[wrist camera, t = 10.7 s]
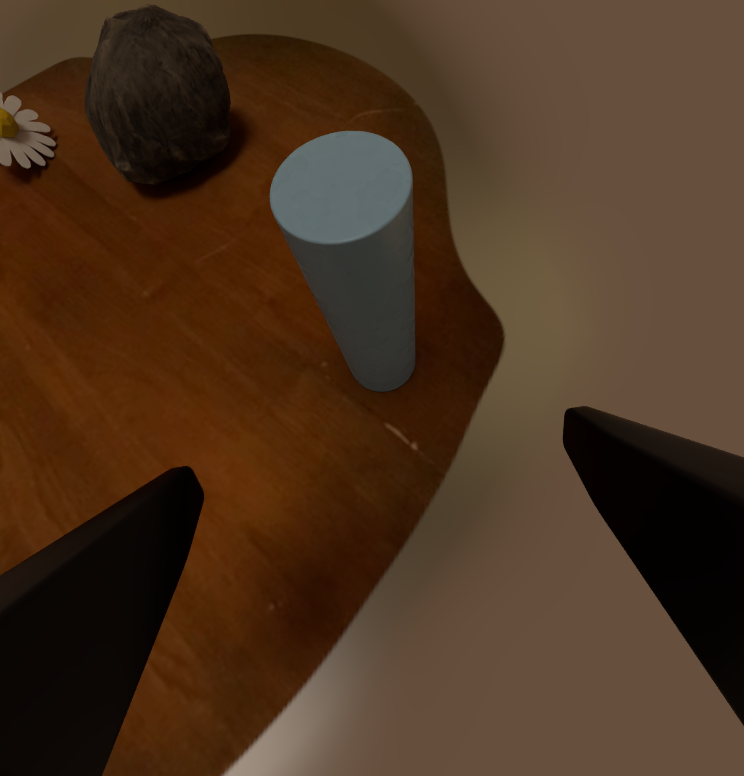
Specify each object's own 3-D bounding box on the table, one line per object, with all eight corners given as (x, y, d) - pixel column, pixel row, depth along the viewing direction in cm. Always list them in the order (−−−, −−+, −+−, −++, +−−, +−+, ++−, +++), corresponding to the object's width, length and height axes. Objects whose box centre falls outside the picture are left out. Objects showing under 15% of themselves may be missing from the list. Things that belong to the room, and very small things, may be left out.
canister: (404, 399, 23) (385, 256, 10) (341, 381, 24) (246, 228, 11) (423, 339, 24) (430, 138, 11) (362, 324, 25) (300, 122, 12)
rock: (98, 181, 32) (-9, 34, 22) (177, 112, 36) (114, -36, 27) (193, 219, 30) (121, 80, 21) (264, 143, 34) (230, -2, 25)
